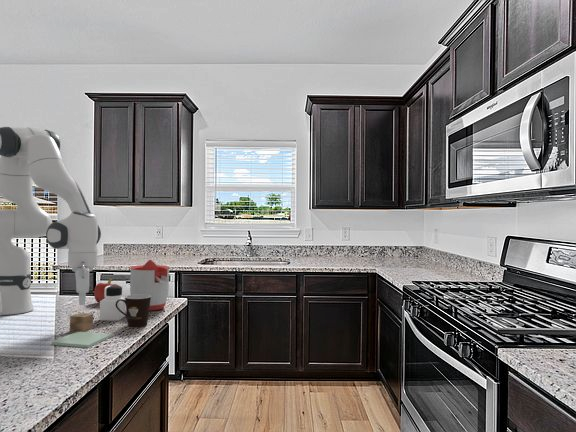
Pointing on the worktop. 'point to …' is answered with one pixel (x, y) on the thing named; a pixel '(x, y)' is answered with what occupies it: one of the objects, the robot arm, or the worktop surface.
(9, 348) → the worktop surface
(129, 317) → the coffee mug
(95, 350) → the worktop surface
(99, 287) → the vegetable
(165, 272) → the citrus juicer
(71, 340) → the plate
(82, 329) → the walnut cube
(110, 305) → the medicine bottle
